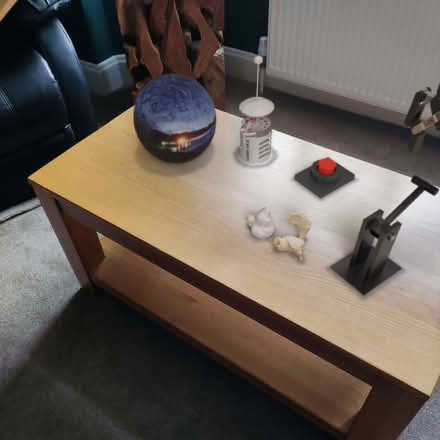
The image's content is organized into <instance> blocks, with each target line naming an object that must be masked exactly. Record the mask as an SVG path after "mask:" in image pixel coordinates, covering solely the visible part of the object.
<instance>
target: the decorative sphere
mask: <svg viewBox="0 0 440 440" xmlns="http://www.w3.org/2000/svg"><path fill="white" fill-rule="evenodd" d="M133 106H134V107H133V115H132V116H133V118H132V119H133V128H134V131H135V134H136V136H137V139H138V141H139V142H140V144H141V145H142V147H143V148H144V149H145V150H146V151H147V152H148V153H149V154H150V155H152V156H153V158H154V157H155V158H156V159H158V160H160V161H162V162H166V163H170V164H182V163H187V162H191V161H193V160H195V159H196V158H198V157H200V156H201V155H202V154H203V153H204V152H205V151H206V150H207V149H208V147H209V146H210V145H211V143H212V141H213V139H214V136H215V133H216V129H217V111H216V108H215V103H214V101H213V99H212V97H211V96H210V94H209V92H208V91H207V90H206V88H205V87H204V86H203V85H202V84H201V83H199V82H198V81H197V80H195V79H193V78H192V77H190V76H187V75H184V74H179V73H168V74H162V75H160V76H157V77H155V78H153V79H151V80H150V81H149V82H148V83H146V84H145V86H144V87H143V88H142V89H141V90H140V92H139V93H138V95H137V97H136V100H135V103H134V105H133Z"/></svg>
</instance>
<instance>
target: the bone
mask: <svg viewBox="0 0 440 440" xmlns="http://www.w3.org/2000/svg"><path fill="white" fill-rule="evenodd" d="M287 221H288V223H289V224H290V225H292V226H295V227H296V229H297V236H294V235H288V234H287V235H284V236H283V237H281V236H279V235H277V236H276V237H274V238H273V242H272V247H273V248H274V249H276V250H277V251H279V252H287V253H288V252H289V253H292V254H294V255H295V256H297V258H298V259H299V260H300V261H301V262H302V261H303V255H304V254H303V252H302V249H303V248H302V247H303V245H304V244H306V242H305V239H306V237H307V235H308V233H309V231H310V230H311V229H312V222H311V220H310V219H309V218H308V217H307V215H305V214H303V213H299V212H292V214H290V215H289V216H288V217H287Z"/></svg>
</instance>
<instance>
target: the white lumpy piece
mask: <svg viewBox="0 0 440 440" xmlns="http://www.w3.org/2000/svg"><path fill="white" fill-rule="evenodd" d="M246 218H247V219H246V220H247V225H248V226H249V227H250V233H251V235H252V236H254V237H255V238H259V239H262V238H263V239H266V238H269V237H271V236H272V235H274V233H275V230H276V227H275V223H274V221H273V216H272V214H271V212H270V211H269V209H268V208H267V207H266V206H264V207H263V208H261V209H259V210H258V211H257V212H256V213H255V214H251V213H250V214H248V215H247V217H246Z"/></svg>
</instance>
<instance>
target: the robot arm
mask: <svg viewBox="0 0 440 440" xmlns="http://www.w3.org/2000/svg"><path fill="white" fill-rule="evenodd" d="M428 104H429V107H430V113H431V116H430V117H428V118H426V119H425V120H423V121H422V119H421V118H422V115H423V112H424V111H425V108H426V105H428ZM403 123H404V126H405V127H410V129H411V135H410V138H409V142H408V144H407V149H408V152H407V153H408V154H410V155H412V156H413V155H414V154H416V153H418V152H419V151H420V149H421V147H422V145H423V142H424V139H425V137H426V134H427V131H426V129H428V128H429V127H431V126H434V128H435V130H436V131H438V132H440V82H439V83H438V86H437V89H436V94H435V93H433V92H432V88H431V87H430V86H426V87H424V88H422V89H419V90H418V91H416V92H415V94H414V96H413V99H412V101H411V103H410V106H409V109H408V111H407V113H406V116H405V119H404V122H403Z"/></svg>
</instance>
